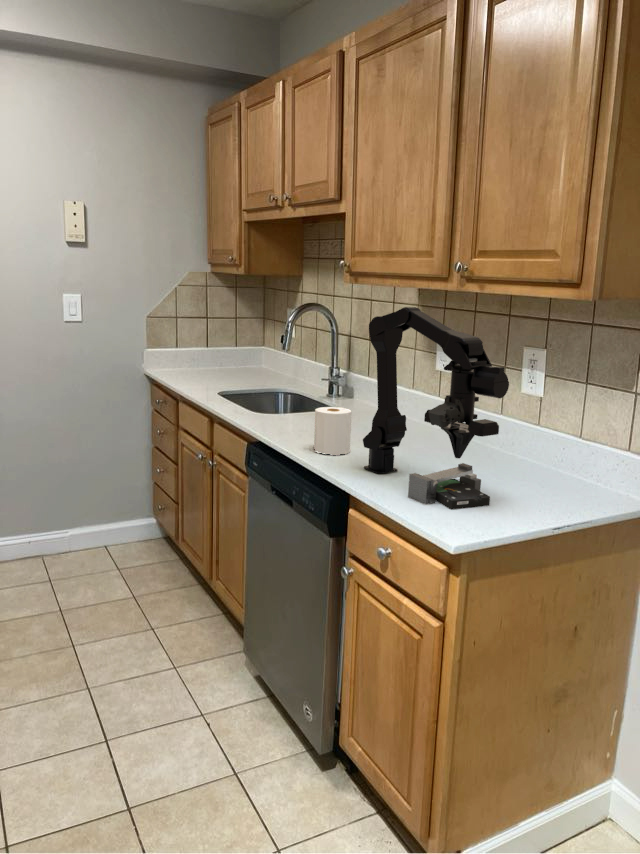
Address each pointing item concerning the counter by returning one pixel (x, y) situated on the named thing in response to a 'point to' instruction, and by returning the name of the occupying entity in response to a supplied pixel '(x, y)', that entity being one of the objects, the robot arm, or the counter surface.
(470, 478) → the lug
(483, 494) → the disk drive
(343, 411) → the toilet paper
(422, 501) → the hinge bracket
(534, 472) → the counter surface
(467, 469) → the grey long flat bar
